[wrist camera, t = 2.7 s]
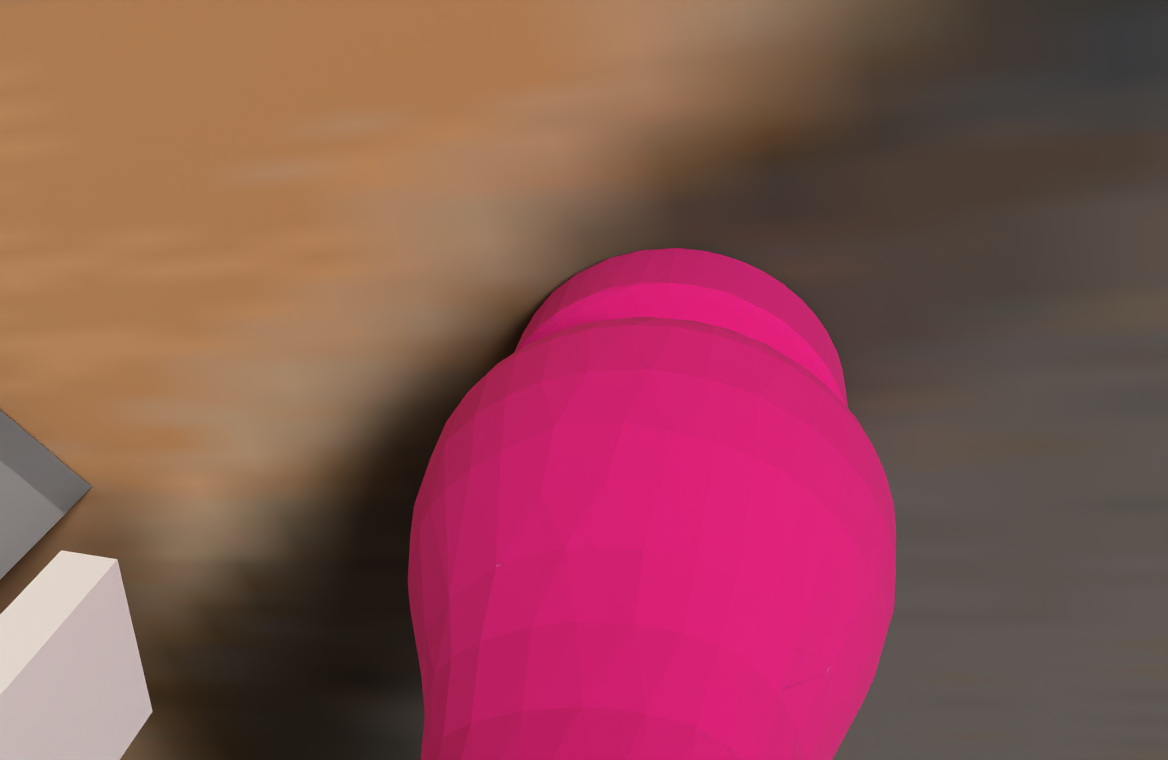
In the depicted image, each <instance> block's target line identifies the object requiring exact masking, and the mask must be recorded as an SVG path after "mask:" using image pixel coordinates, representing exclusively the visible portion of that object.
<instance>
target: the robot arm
mask: <svg viewBox="0 0 1168 760" xmlns="http://www.w3.org/2000/svg"><path fill="white" fill-rule="evenodd" d="M151 713H152V707H151V703H150V699H149V694H148V690H147V686H146V681H145V677H144V673H143V668H142V664H141V660H140V655H139V651H138V647H137V642H136V638H135V634H134V629H133V625H132V621H131V616H130V612H129V608H128V603H127V599H126V595H125V590H124V586H123V582H122V577H121V573H120V569H119V564H118V560H117V559H112V558H106V557H100V556H93V555H87V554H81V553H75V552H68V551H62V550H61V551H60V552H59V553H58V554H57V555H56V556H55V557H54V558H53V560H52V561H51V562H50V563H49V564H48V565H47V566H46V567H45V568H44V569H43V570H42V571H41V572H40V573H39V574H38V575H37V576H36V577H35V579H34V580H33V581H32V582H31V583H30V584H29V585H28V586H27V587H26V588H25V589H24V590H23V591H22V592H21V593H20V594H19V595H18V597H17V598H16V599H15V600H14V601H13V602H12V603H11V604H10V605H9V606H8V607H7V608H6V609H5V610H4V611H3V612H2V613H1V614H0V760H120V759H121V757H122V756H123V754H124V753H125V751H126V750H127V748H128V747H129V745H130V744H131V742H132V741H133V739H134V738H135V737H136V735H137V734H138V732H139V731H140V729H141V728H142V726H143V725H144V723H145V722H146V720H147V719H148V717H149V716H150V715H151Z"/></svg>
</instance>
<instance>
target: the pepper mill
mask: <svg viewBox="0 0 1168 760" xmlns="http://www.w3.org/2000/svg"><path fill="white" fill-rule="evenodd" d="M895 561H896V528H895V514H894V503H893V500H892V496H891V493H890V489H889V485H888V482H887V478H886V475H885V472H884V469H883V467H882V465H881V463H880V460H879V458H878V456H877V453H876V451H875V449H874V447H873V445H872V443H871V442H870V440H869V438H868V437H867V435H866V433H865V432H864V430H863V429H862V427H861V425H860V424H859V422H858V420H857V419H856V417H855V416H854V415H853V414H852V413H851V412H850V410H849V409H848V406H847V397H846V388H845V382H844V376H843V370H842V367H841V363H840V360H839V356H838V353H837V351H836V349H835V347H834V345H833V343H832V341H831V339H830V337H829V335H828V332H827V331H826V329H825V328H824V327H823V325H822V324H821V322H820V321H819V319H818V318H817V317H816V315H815V314H814V313H813V312H812V311H811V309H810V308H809V307H808V306H807V305H806V304H805V303H804V302H803V301H802V299H801V298H799V297H798V296H797V295H796V294H794V293H793V292H792V291H791V290H790V289H788V288H787V287H786V286H785V285H783V284H782V283H781V282H779V281H778V280H776V279H775V278H773V277H772V276H770V275H768V274H767V273H765V272H763V271H761V270H759V269H757V268H755V267H753V266H751V265H749V264H747V263H745V262H742V261H739V260H736V259H733V258H730V257H727V256H724V255H720V254H716V253H711V252H707V251H701V250H690V249H680V248H670V249H654V250H640V251H636V252H632V253H628V254H624V255H620V256H616V257H612V258H609V259H606V260H604V261H602V262H600V263H598V264H596V265H594V266H592V267H590V268H588V269H586V270H584V271H581V272H579V273H577V274H576V275H575V276H573V277H572V278H571V279H569V280H568V281H567V282H565V283H564V284H563V285H561V286H560V287H559V288H557V289H556V290H555V291H553V292H552V294H551V295H550V296H549V297H548V298H547V299H546V301H545V302H544V303H543V304H542V305H541V307H540V308H539V309H538V310H537V311H536V312H535V314H534V316H533V317H532V319H531V321H530V322H529V324H528V326H527V327H526V329H525V331H524V332H523V334H522V336H521V338H520V341H519V343H518V345H517V347H516V350H515V352H514V353H513V354H512V355H510V356H509V357H507V358H505V359H504V360H502V361H501V362H499V363H498V364H496V365H495V366H494V367H493V368H492V369H491V370H490V371H489V372H488V373H487V374H486V375H485V376H484V377H483V378H482V379H481V380H480V381H479V382H478V383H477V384H476V385H474V386H473V387H472V388H471V389H470V390H469V391H468V393H467V394H466V395H465V397H464V398H463V399H462V401H461V402H460V403H459V405H458V406H457V408H456V409H455V410H454V412H453V413H452V415H451V416H450V417H449V419H448V420H447V422H446V424H445V426H444V428H443V431H442V433H441V435H440V437H439V440H438V442H437V444H436V446H435V449H434V451H433V453H432V456H431V458H430V461H429V464H428V467H427V470H426V472H425V475H424V478H423V481H422V484H421V487H420V490H419V492H418V495H417V498H416V501H415V504H414V510H413V518H412V526H411V535H410V551H409V568H408V591H409V601H410V610H411V616H412V622H413V628H414V634H415V641H416V647H417V653H418V659H419V665H420V671H421V677H422V689H423V700H424V712H425V720H424V730H423V740H422V749H421V759H420V760H832V759H833V757H834V755H835V753H836V751H837V750H838V748H839V746H840V744H841V742H842V740H843V738H844V737H845V735H846V733H847V731H848V729H849V727H850V725H851V723H852V722H853V720H854V718H855V716H856V714H857V712H858V710H859V708H860V707H861V705H862V703H863V701H864V699H865V696H866V694H867V692H868V690H869V687H870V685H871V683H872V681H873V678H874V676H875V672H876V669H877V666H878V662H879V659H880V655H881V652H882V648H883V645H884V641H885V638H886V634H887V631H888V627H889V624H890V620H891V617H892V613H893V610H894V600H895Z"/></svg>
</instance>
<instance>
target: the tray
mask: <svg viewBox="0 0 1168 760" xmlns="http://www.w3.org/2000/svg"><path fill="white" fill-rule="evenodd" d="M90 488H91V486H90V485H89V484H87V483H86V482H85V481H84V480H83V479H82V478H80V477H79V476H78V475H77V474H76V473H74V472H73V471H72V470H71V469H70V468H69V467H67V466H66V465H65V464H64V463H63V462H61V461H60V460H59V459H58V458H57V457H56V456H54V455H53V454H52V453H51V452H50V451H48V450H47V449H46V448H45V447H44V446H43V445H41V444H40V443H39V442H38V441H37V440H35V439H34V438H33V437H32V436H31V435H30V434H28V433H27V432H26V431H25V430H24V429H22V428H21V427H20V426H19V425H18V424H17V423H15V422H14V421H13V420H12V419H11V418H9V417H8V416H7V415H6V414H5V413H4V412H2V411H1V410H0V579H1V578H2V577H3V576H4V575H5V574H6V573H7V572H8V571H9V570H10V569H11V568H12V567H13V566H14V565H15V564H16V563H17V562H18V561H19V560H20V559H21V558H22V557H23V556H24V555H25V554H26V553H27V552H28V551H29V550H30V549H31V548H32V547H33V546H34V545H35V544H36V543H37V542H38V541H39V540H40V539H41V538H42V537H43V536H44V535H45V534H46V533H47V532H48V531H49V530H50V529H51V528H52V527H53V526H54V525H55V524H56V523H57V522H58V521H59V520H60V519H61V518H62V517H63V516H64V515H65V514H66V513H67V512H68V511H69V510H70V509H71V507H72V506H73V505H74V504H75V503H76V502H77V501H78V500H79V499H80V498H81V497H82V496H83V495H84V494H85V493H86V492H87V491H88V490H89V489H90Z"/></svg>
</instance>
